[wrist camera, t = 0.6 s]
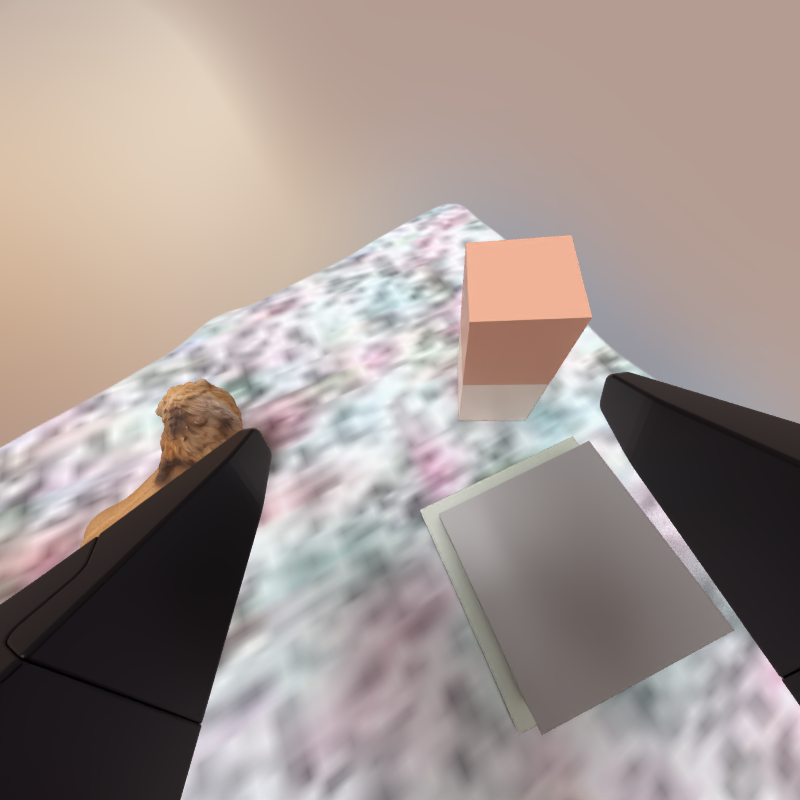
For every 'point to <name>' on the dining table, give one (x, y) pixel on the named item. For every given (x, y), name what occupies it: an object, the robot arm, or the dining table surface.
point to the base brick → (567, 584)
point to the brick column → (516, 323)
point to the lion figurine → (180, 441)
